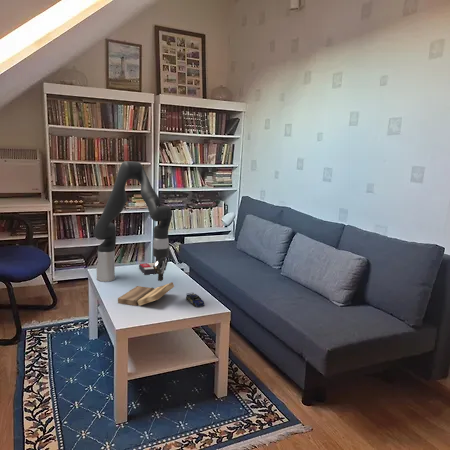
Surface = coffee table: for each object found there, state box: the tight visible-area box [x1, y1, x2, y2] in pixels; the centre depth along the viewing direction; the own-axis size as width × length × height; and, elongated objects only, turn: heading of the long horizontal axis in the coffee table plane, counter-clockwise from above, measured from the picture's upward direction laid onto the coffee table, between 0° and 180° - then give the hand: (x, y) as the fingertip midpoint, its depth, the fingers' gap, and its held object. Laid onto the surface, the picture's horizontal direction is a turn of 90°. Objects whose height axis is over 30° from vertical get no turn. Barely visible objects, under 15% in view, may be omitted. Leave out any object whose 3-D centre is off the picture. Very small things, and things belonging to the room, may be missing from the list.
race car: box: [185, 292, 205, 308], centre depth 201 cm, size 15×7×4 cm, turn 37°
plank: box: [137, 282, 175, 306], centre depth 201 cm, size 11×20×3 cm, turn 165°
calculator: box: [138, 262, 158, 276], centre depth 251 cm, size 11×4×15 cm
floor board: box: [117, 285, 155, 307], centre depth 204 cm, size 10×20×3 cm, turn 164°
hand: (160, 280), depth 199 cm, fingers closed
